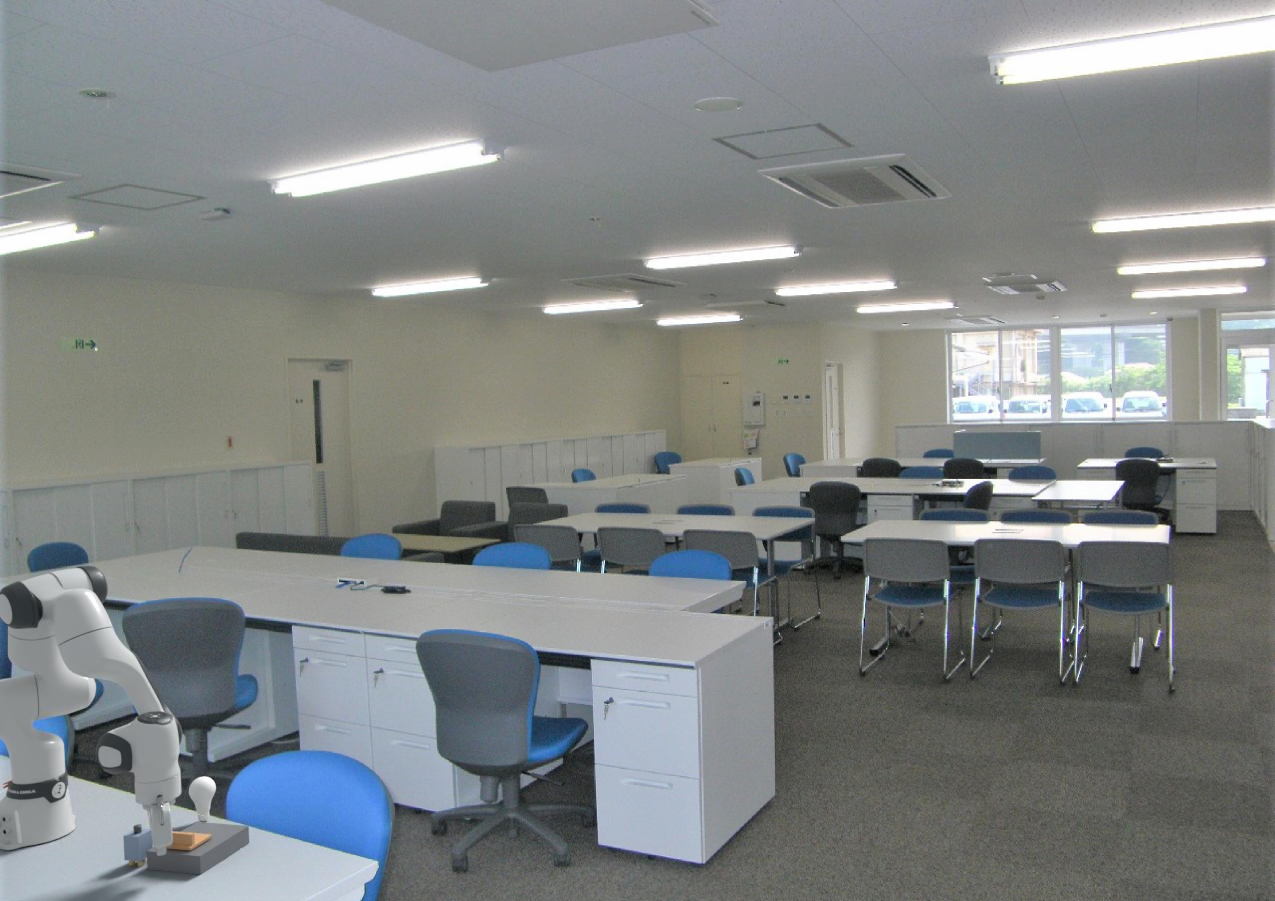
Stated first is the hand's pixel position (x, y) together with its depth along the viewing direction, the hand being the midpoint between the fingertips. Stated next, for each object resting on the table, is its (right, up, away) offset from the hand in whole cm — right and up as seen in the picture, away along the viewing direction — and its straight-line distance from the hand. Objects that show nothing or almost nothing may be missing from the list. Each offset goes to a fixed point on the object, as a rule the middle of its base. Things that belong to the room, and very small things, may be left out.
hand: (161, 852), depth 204 cm
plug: (-9, -6, +8) cm, 13 cm away
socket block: (+3, -5, +11) cm, 13 cm away
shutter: (+2, -1, +8) cm, 8 cm away
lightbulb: (-5, -5, +31) cm, 32 cm away
